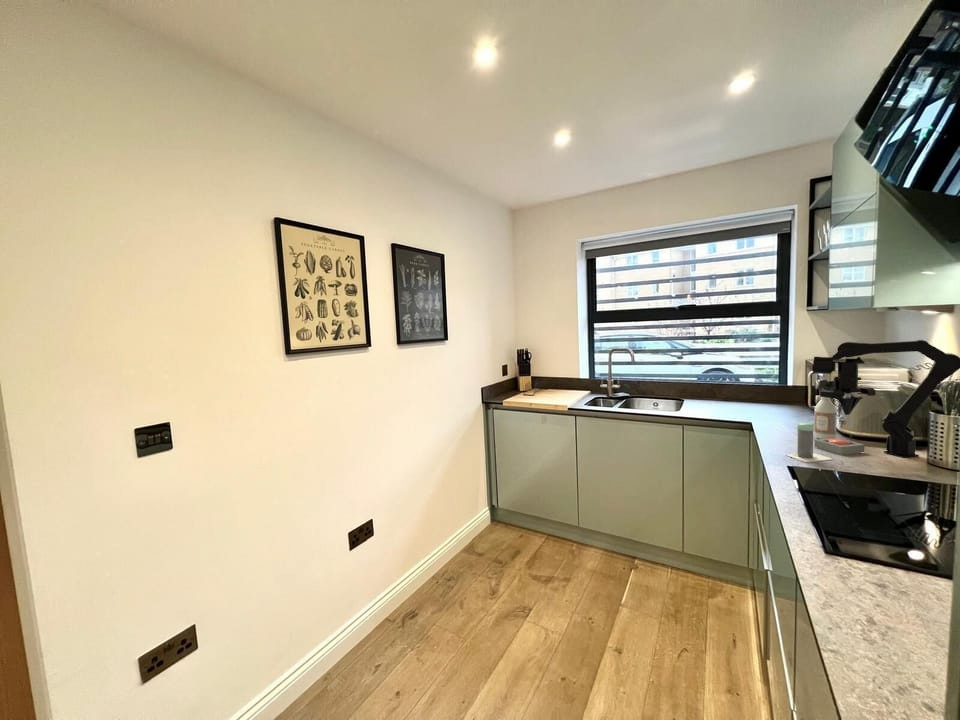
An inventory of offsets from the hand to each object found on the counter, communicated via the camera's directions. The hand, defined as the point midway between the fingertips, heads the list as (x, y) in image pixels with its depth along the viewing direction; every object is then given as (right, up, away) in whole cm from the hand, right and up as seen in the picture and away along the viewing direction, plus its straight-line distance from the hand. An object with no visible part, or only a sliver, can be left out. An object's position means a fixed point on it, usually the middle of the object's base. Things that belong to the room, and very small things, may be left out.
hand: (847, 414), depth 152 cm
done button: (-5, -13, -2) cm, 14 cm away
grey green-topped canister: (-23, -14, -8) cm, 28 cm away
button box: (-5, -13, -2) cm, 14 cm away
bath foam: (+3, -12, +13) cm, 18 cm away
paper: (-22, -15, -9) cm, 28 cm away
